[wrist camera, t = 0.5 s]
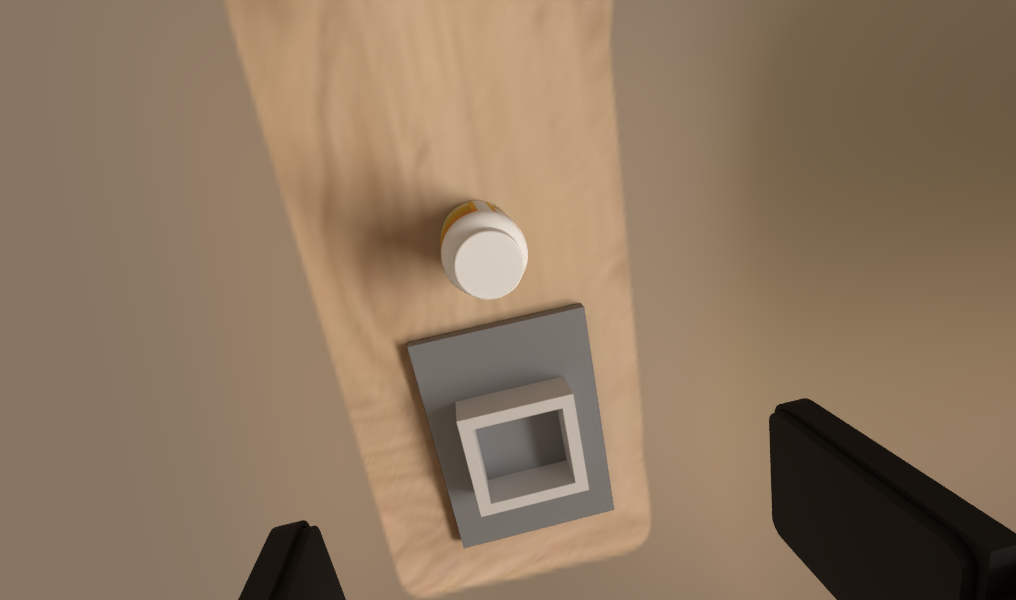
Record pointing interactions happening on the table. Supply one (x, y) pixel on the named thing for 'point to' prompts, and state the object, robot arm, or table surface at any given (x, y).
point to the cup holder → (516, 423)
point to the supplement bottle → (482, 250)
